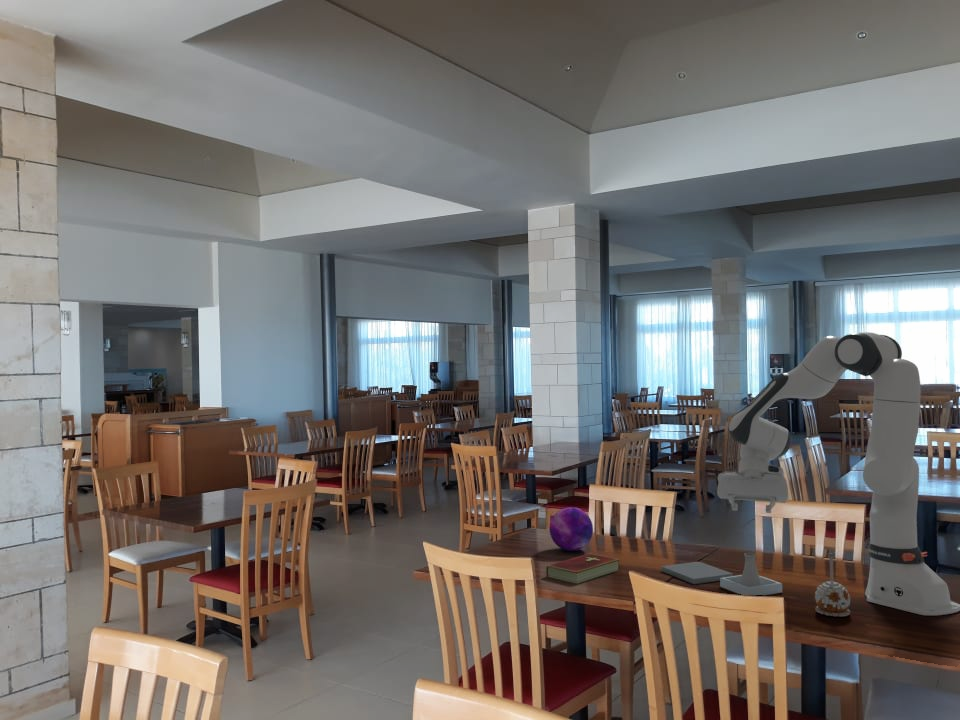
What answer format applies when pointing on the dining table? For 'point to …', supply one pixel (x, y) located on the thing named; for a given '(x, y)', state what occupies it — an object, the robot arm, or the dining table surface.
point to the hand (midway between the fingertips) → (751, 510)
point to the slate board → (696, 572)
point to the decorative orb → (571, 529)
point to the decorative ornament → (832, 597)
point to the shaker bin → (765, 589)
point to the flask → (750, 572)
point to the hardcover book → (582, 568)
